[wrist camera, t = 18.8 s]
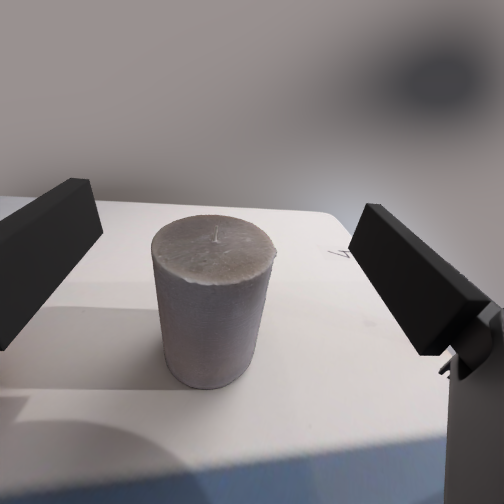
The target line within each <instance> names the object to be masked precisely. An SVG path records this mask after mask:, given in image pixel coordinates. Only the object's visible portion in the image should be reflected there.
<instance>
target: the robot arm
mask: <svg viewBox="0 0 504 504" xmlns="http://www.w3.org/2000/svg"><path fill="white" fill-rule="evenodd" d="M102 234H103V229H102V226H101V222H100V218H99V215H98V211H97V207H96V204H95V200H94V197H93V192H92V189H91V185H90V181H89V179H77V178H70V179H68V180H66V181H65V182H63V183H61V184H60V185H58V186H57V187H55V188H53V189H52V190H50V191H48V192H47V193H45V194H43V195H42V196H40V197H39V198H37V199H35V200H34V201H32V202H30V203H29V204H27V205H26V206H24V207H22V208H21V209H19V210H17V211H16V212H14V213H13V214H11V215H9V216H8V217H6V218H4V219H3V220H1V221H0V351H4V350H5V349H6V348H7V347H8V346H9V344H10V343H11V342H12V341H13V340H14V338H15V337H16V336H17V335H18V334H19V332H20V331H21V330H22V329H23V328H24V327H25V325H26V324H27V323H28V322H29V321H30V319H31V318H32V317H33V316H34V315H35V313H36V312H37V311H38V310H39V309H40V307H41V306H42V305H43V304H44V303H45V302H46V300H47V299H48V298H49V297H50V296H51V294H52V293H53V292H54V291H55V290H56V288H57V287H58V286H59V285H60V284H61V283H62V281H63V280H64V279H65V278H66V277H67V275H68V274H69V273H70V272H71V271H72V269H73V268H74V267H75V266H76V265H77V263H78V262H79V261H80V260H81V259H82V258H83V256H84V255H85V254H86V253H87V252H88V250H89V249H90V248H91V247H92V246H93V244H94V243H95V242H96V241H97V240H98V239H99V237H100V236H101V235H102ZM348 249H349V250H350V252H351V253H352V255H353V256H354V258H355V259H356V261H357V262H358V264H359V265H360V267H361V268H362V270H363V271H364V273H365V274H366V276H367V277H368V279H369V280H370V282H371V283H372V285H373V286H374V288H375V289H376V291H377V292H378V294H379V295H380V297H381V298H382V300H383V301H384V303H385V304H386V306H387V307H388V309H389V310H390V312H391V313H392V315H393V316H394V318H395V319H396V321H397V322H398V324H399V325H400V327H401V328H402V330H403V331H404V333H405V334H406V336H407V337H408V339H409V340H410V342H411V343H412V345H413V346H414V348H415V349H416V351H417V352H418V354H419V355H420V356H440V355H441V354H442V353H443V352H444V351H445V350H446V348H447V347H448V346H449V345H451V347H452V348H453V349H454V350H455V352H456V354H455V355H454V356H453V357H452V358H451V359H450V360H449V361H448V362H447V363H446V364H445V365H444V366H443V367H442V368H441V369H440V371H439V374H441V375H443V374H444V373H445V372H446V371H448V370H450V375H449V376H448V377H447V378H448V379H450V384H449V404H448V424H447V444H446V465H445V485H444V504H504V308H500V307H499V306H498V305H497V304H496V303H495V302H494V301H492V300H491V299H490V298H489V297H488V296H487V295H485V294H484V293H483V292H482V291H481V290H480V289H478V288H477V287H476V286H475V285H474V284H473V283H471V282H470V281H468V279H467V278H466V277H465V276H464V275H462V274H460V272H459V271H458V270H457V269H455V268H454V267H453V266H452V265H451V264H450V263H448V262H446V261H445V260H444V259H443V258H442V257H440V256H439V255H438V254H437V253H436V252H435V251H433V250H432V249H431V248H430V247H429V246H428V245H427V244H425V243H424V242H423V241H422V240H421V239H420V238H419V237H417V236H416V235H415V234H414V233H413V232H411V231H410V230H409V229H408V228H407V227H406V226H405V225H404V224H402V223H401V222H400V221H399V220H398V219H397V218H395V217H394V216H393V215H392V214H391V213H390V212H388V211H387V210H386V209H385V208H384V207H383V206H382V205H381V204H369V203H367V204H366V205H365V208H364V210H363V213H362V215H361V217H360V220H359V222H358V225H357V227H356V230H355V232H354V235H353V237H352V240H351V242H350V244H349V247H348Z"/></svg>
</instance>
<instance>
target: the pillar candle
mask: <svg viewBox="0 0 504 504" xmlns="http://www.w3.org/2000/svg"><path fill="white" fill-rule="evenodd" d="M276 254H277V250H276V248H274V245H273V243H272V240H271V239H270V238H269V236H268V235H267V234H266V233H265V232H264V231H263V230H261V229H260V228H259V227H257V226H256V225H254V224H252V223H250V222H247V221H244V220H242V219H238V218H234V217H228V216H220V215H197V216H191V217H187V218H183V219H180V220H176V221H173V222H172V223H170V224H168V225H166V226H164V227H163V228H161V229H160V230H159V231H158V232H157V233H156V235H155V236H154V238H153V240H152V244H151V255H152V260H153V269H154V277H155V285H156V293H157V300H158V308H159V316H160V323H161V330H162V339H163V346H164V354H165V359H166V363H167V366H168V368H169V370H170V371H171V373H172V374H173V375H174V376H175V377H176V378H177V379H178V380H179V381H181V382H182V383H184V384H186V385H188V386H190V387H194V388H198V389H215V388H220V387H223V386H226V385H228V384H229V383H231V382H232V381H234V380H235V379H236V378H238V377H239V376H240V375H241V374H242V373H243V372H244V371H245V370H246V369H247V367H248V366H249V364H250V362H251V359H252V356H253V354H254V349H255V345H256V340H257V335H258V331H259V327H260V322H261V317H262V312H263V308H264V304H265V300H266V292H267V288H268V283H269V279H270V275H271V271H272V265H273V261H274V258H275V257H276Z"/></svg>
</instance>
